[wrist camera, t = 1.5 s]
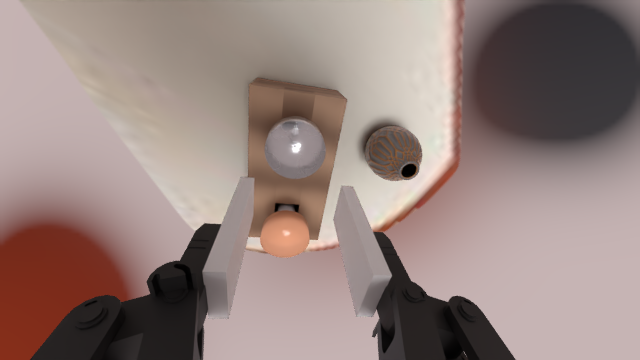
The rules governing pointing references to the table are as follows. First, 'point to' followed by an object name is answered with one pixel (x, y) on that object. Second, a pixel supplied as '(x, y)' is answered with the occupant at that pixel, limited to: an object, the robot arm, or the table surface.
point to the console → (264, 111)
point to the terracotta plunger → (285, 232)
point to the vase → (394, 153)
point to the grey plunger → (295, 147)
